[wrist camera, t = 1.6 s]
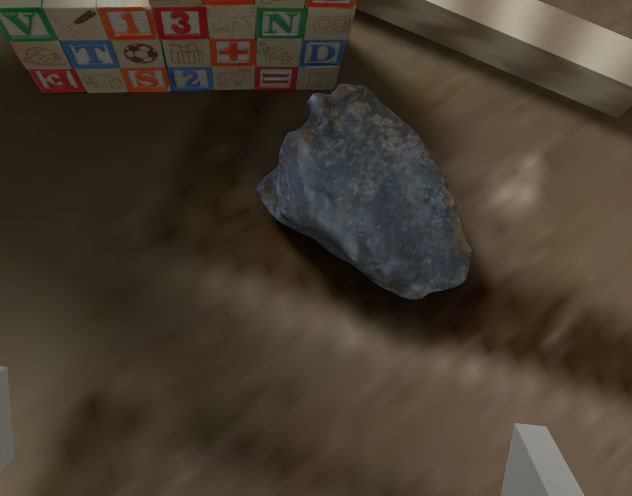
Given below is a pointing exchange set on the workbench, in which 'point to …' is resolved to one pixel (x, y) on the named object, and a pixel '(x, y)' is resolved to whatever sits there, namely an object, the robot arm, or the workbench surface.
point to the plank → (525, 44)
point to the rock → (369, 194)
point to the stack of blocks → (178, 43)
